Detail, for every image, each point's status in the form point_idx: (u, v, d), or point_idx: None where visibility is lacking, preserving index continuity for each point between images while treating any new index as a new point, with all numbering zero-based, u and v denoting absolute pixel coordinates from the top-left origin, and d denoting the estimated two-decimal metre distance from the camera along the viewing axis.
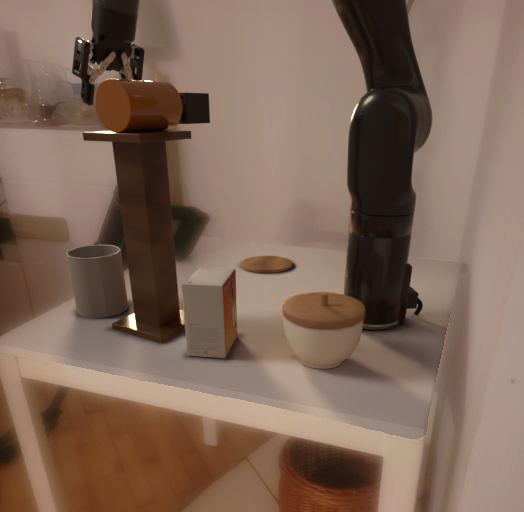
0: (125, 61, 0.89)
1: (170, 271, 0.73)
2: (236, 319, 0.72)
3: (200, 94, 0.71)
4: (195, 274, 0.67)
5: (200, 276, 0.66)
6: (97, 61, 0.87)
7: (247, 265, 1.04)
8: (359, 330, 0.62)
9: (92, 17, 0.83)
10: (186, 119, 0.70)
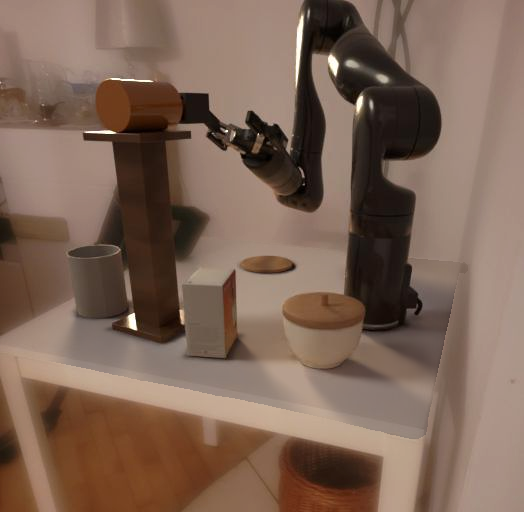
0: None
1: (170, 271, 0.73)
2: (236, 319, 0.72)
3: (200, 94, 0.71)
4: (195, 274, 0.67)
5: (200, 276, 0.66)
6: None
7: (247, 265, 1.04)
8: (359, 330, 0.62)
9: None
10: (186, 119, 0.70)
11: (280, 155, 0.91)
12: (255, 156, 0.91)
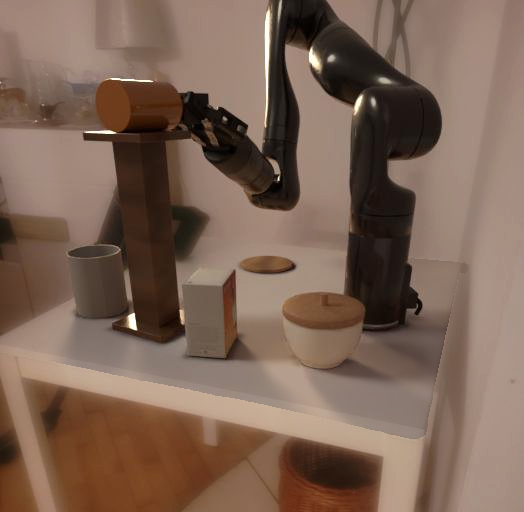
0: None
1: (170, 271, 0.73)
2: (236, 319, 0.72)
3: (200, 94, 0.71)
4: (195, 274, 0.67)
5: (200, 276, 0.66)
6: None
7: (247, 265, 1.04)
8: (359, 330, 0.62)
9: None
10: (186, 119, 0.70)
11: (246, 148, 0.81)
12: (217, 149, 0.80)
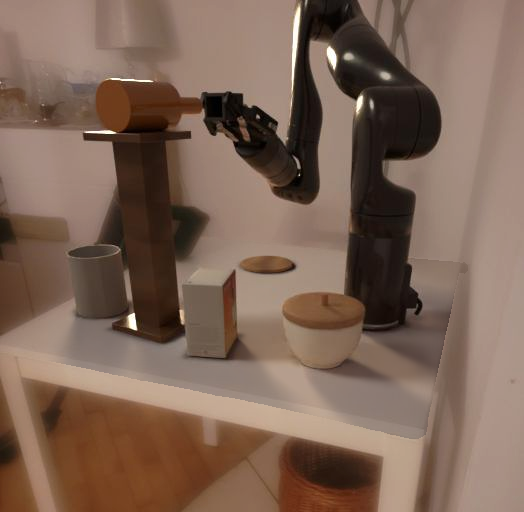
0: None
1: (170, 271, 0.73)
2: (236, 319, 0.72)
3: (236, 94, 0.78)
4: (195, 274, 0.67)
5: (200, 276, 0.66)
6: None
7: (247, 265, 1.04)
8: (359, 330, 0.62)
9: None
10: (224, 117, 0.77)
11: (274, 143, 0.88)
12: (248, 144, 0.88)
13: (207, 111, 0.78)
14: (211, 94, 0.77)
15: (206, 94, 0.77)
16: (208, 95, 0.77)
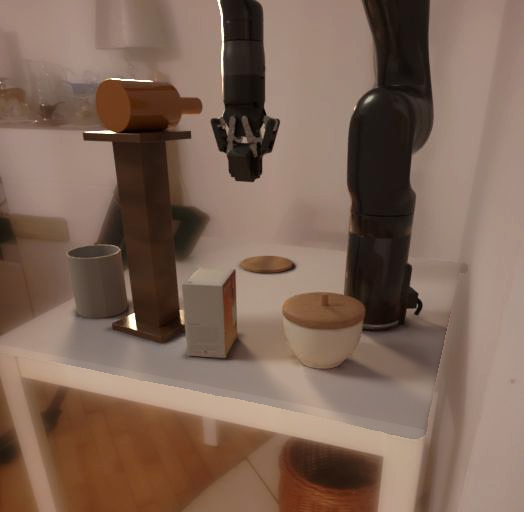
0: (246, 126, 0.86)
1: (170, 271, 0.73)
2: (236, 319, 0.72)
3: (248, 165, 0.89)
4: (195, 274, 0.67)
5: (200, 276, 0.66)
6: None
7: (247, 265, 1.04)
8: (359, 330, 0.62)
9: None
10: None
11: (262, 88, 0.84)
12: None
13: None
14: None
15: (238, 180, 0.93)
16: None
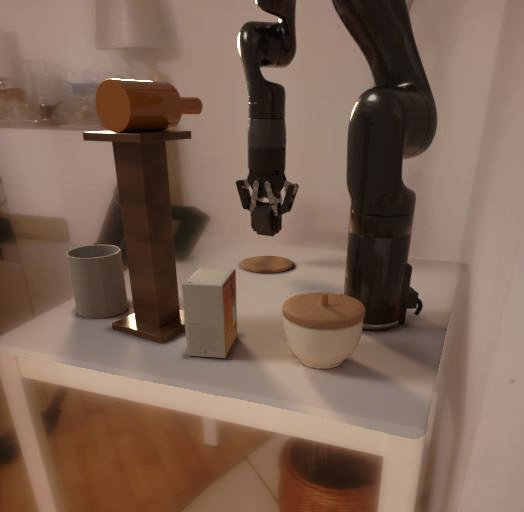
0: (268, 189, 0.97)
1: (170, 271, 0.73)
2: (236, 319, 0.72)
3: (269, 223, 1.00)
4: (195, 274, 0.67)
5: (200, 276, 0.66)
6: None
7: (247, 265, 1.04)
8: (359, 330, 0.62)
9: None
10: None
11: (283, 157, 0.95)
12: None
13: None
14: (264, 234, 1.03)
15: None
16: None
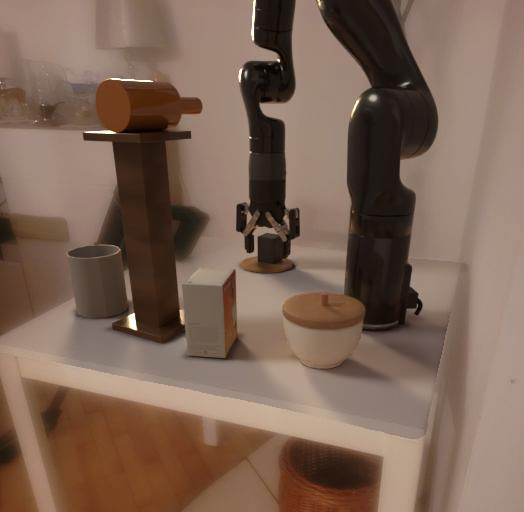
0: (270, 219, 0.99)
1: (170, 271, 0.73)
2: (236, 319, 0.72)
3: (274, 248, 1.03)
4: (195, 274, 0.67)
5: (200, 276, 0.66)
6: None
7: (247, 265, 1.04)
8: (359, 330, 0.62)
9: None
10: (280, 260, 1.08)
11: (283, 189, 0.97)
12: None
13: None
14: None
15: (260, 261, 1.07)
16: (262, 261, 1.06)
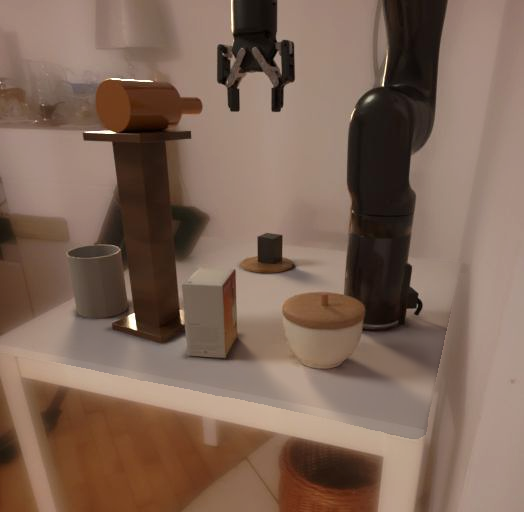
0: (258, 57, 0.80)
1: (170, 271, 0.73)
2: (236, 319, 0.72)
3: (274, 248, 1.03)
4: (195, 274, 0.67)
5: (200, 276, 0.66)
6: None
7: (247, 265, 1.04)
8: (359, 330, 0.62)
9: None
10: (280, 260, 1.08)
11: (274, 15, 0.78)
12: None
13: None
14: None
15: (260, 261, 1.07)
16: (262, 261, 1.06)
